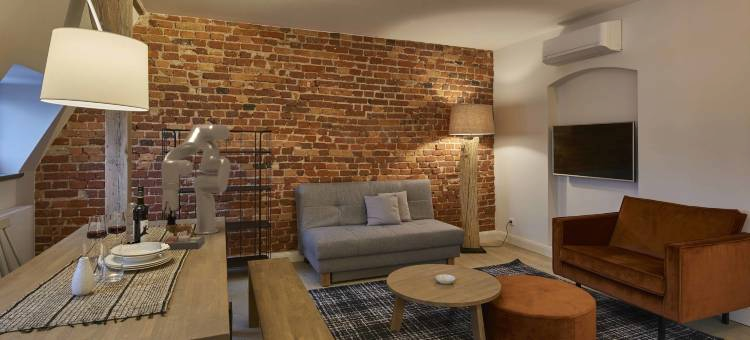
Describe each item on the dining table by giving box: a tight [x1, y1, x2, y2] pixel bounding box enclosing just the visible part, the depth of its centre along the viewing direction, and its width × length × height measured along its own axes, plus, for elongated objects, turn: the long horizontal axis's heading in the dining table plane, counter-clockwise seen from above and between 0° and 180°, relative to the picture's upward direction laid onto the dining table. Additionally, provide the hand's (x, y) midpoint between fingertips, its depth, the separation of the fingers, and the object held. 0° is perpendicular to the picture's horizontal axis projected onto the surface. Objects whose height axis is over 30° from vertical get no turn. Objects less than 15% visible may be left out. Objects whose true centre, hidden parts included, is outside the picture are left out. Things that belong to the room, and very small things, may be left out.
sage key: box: [190, 236, 202, 241], centre depth 204 cm, size 4×4×2 cm
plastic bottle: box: [124, 202, 137, 243], centre depth 208 cm, size 6×7×20 cm
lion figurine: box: [165, 222, 197, 237], centre depth 220 cm, size 15×5×9 cm, turn 121°
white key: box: [178, 235, 191, 241], centre depth 203 cm, size 4×4×2 cm
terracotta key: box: [166, 235, 180, 241], centre depth 202 cm, size 4×4×2 cm
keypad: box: [162, 236, 206, 251], centre depth 202 cm, size 12×16×3 cm
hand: (171, 224), depth 201 cm, fingers closed
